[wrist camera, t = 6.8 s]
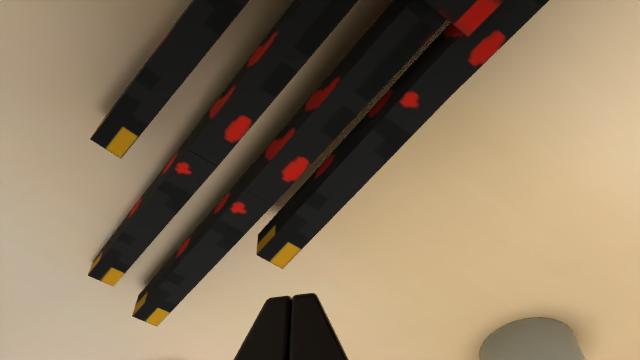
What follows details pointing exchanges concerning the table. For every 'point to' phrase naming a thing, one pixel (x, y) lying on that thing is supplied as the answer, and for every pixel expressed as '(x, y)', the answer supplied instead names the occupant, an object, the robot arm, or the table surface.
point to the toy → (288, 125)
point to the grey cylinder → (532, 341)
